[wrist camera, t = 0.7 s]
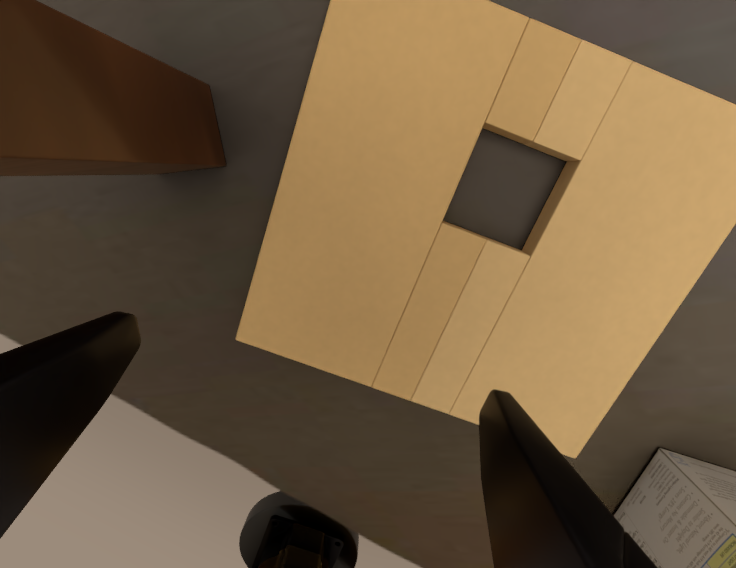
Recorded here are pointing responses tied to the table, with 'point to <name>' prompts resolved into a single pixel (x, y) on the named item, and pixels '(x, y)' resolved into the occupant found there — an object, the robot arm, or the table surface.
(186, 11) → the table surface
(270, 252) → the pad
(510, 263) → the pad
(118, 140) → the peg
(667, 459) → the light bulb box
